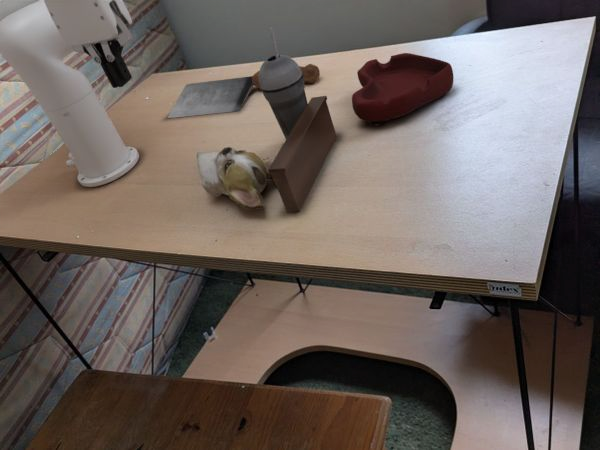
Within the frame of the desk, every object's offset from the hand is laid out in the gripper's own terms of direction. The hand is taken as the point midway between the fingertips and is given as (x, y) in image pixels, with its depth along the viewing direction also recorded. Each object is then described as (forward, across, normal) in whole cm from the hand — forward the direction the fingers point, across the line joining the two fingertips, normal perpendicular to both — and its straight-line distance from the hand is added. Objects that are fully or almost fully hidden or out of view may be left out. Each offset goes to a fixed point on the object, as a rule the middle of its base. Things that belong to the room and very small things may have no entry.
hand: (122, 83), depth 85 cm
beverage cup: (+19, -21, -10) cm, 30 cm away
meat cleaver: (+20, 0, -31) cm, 37 cm away
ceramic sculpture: (+19, -16, +4) cm, 26 cm away
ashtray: (+19, -37, -21) cm, 47 cm away
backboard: (+19, -26, -1) cm, 32 cm away
